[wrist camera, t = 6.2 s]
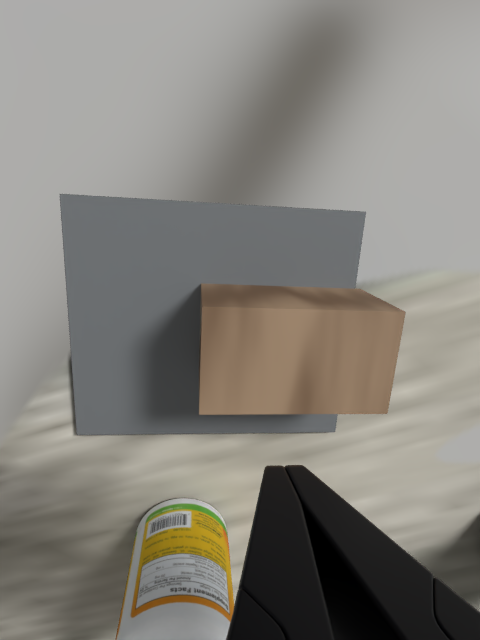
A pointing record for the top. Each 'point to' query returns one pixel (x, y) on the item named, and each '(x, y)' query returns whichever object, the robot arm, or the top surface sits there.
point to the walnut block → (296, 350)
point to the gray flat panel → (181, 300)
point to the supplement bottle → (178, 575)
